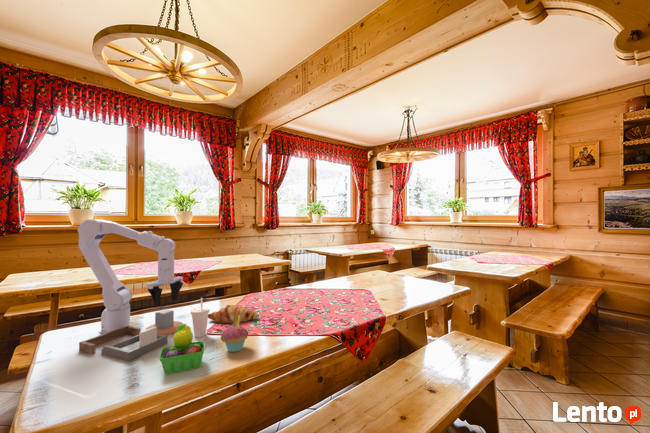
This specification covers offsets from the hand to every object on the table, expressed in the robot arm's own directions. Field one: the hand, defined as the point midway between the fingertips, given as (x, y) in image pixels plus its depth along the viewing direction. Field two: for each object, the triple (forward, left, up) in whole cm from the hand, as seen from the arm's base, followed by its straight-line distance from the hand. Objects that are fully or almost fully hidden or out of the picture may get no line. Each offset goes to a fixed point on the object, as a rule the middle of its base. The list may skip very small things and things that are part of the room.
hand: (166, 302), depth 113 cm
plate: (+3, -3, -9) cm, 10 cm away
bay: (-4, -18, -9) cm, 21 cm away
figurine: (+31, +4, -10) cm, 33 cm away
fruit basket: (+32, -20, -10) cm, 39 cm away
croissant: (+21, +15, -10) cm, 28 cm away
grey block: (+3, -3, -8) cm, 9 cm away
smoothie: (+20, -2, -10) cm, 22 cm away
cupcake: (+39, -6, -10) cm, 41 cm away
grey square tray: (+9, -18, -9) cm, 22 cm away
